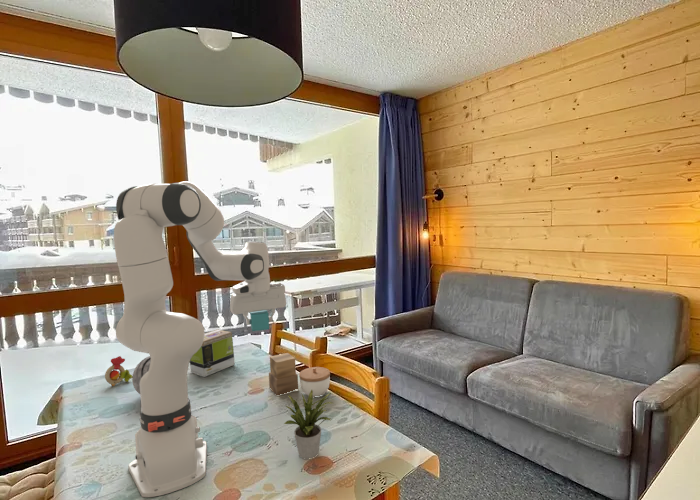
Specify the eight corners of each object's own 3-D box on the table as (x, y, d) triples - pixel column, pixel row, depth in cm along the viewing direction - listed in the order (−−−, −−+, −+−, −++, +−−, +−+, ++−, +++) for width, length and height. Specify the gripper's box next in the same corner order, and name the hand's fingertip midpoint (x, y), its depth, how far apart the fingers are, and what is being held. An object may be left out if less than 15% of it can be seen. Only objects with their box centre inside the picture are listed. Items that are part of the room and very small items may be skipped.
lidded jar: (314, 404, 130) (313, 376, 129) (293, 395, 137) (292, 369, 136) (337, 392, 138) (336, 367, 137) (316, 384, 145) (315, 360, 144)
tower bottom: (298, 390, 140) (297, 374, 140) (277, 396, 136) (276, 380, 136) (290, 383, 147) (289, 367, 147) (269, 388, 143) (268, 372, 143)
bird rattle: (119, 392, 149) (138, 374, 156) (105, 370, 144) (125, 353, 152) (108, 389, 152) (128, 372, 159) (94, 368, 147) (115, 352, 154)
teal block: (269, 329, 142) (268, 313, 142) (252, 331, 140) (251, 314, 140) (267, 325, 148) (266, 309, 147) (250, 327, 146) (250, 311, 146)
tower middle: (295, 374, 140) (295, 358, 140) (277, 379, 137) (276, 362, 136) (288, 368, 146) (287, 352, 146) (270, 372, 143) (269, 356, 142)
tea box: (220, 361, 173) (218, 328, 172) (235, 365, 167) (233, 331, 166) (189, 372, 161) (187, 337, 160) (204, 377, 155) (201, 341, 154)
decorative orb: (146, 409, 130) (142, 365, 129) (126, 398, 139) (122, 357, 137) (187, 392, 142) (184, 352, 140) (167, 383, 150) (164, 345, 149)
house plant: (344, 466, 97) (342, 402, 95) (288, 478, 93) (285, 412, 92) (331, 435, 110) (328, 380, 109) (281, 445, 106) (278, 387, 105)
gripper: (281, 281, 151) (283, 316, 152) (227, 287, 140) (229, 325, 141) (287, 283, 145) (289, 319, 147) (232, 289, 135) (234, 329, 136)
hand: (259, 322), depth 144 cm, fingers closed on teal block, 6 cm apart
